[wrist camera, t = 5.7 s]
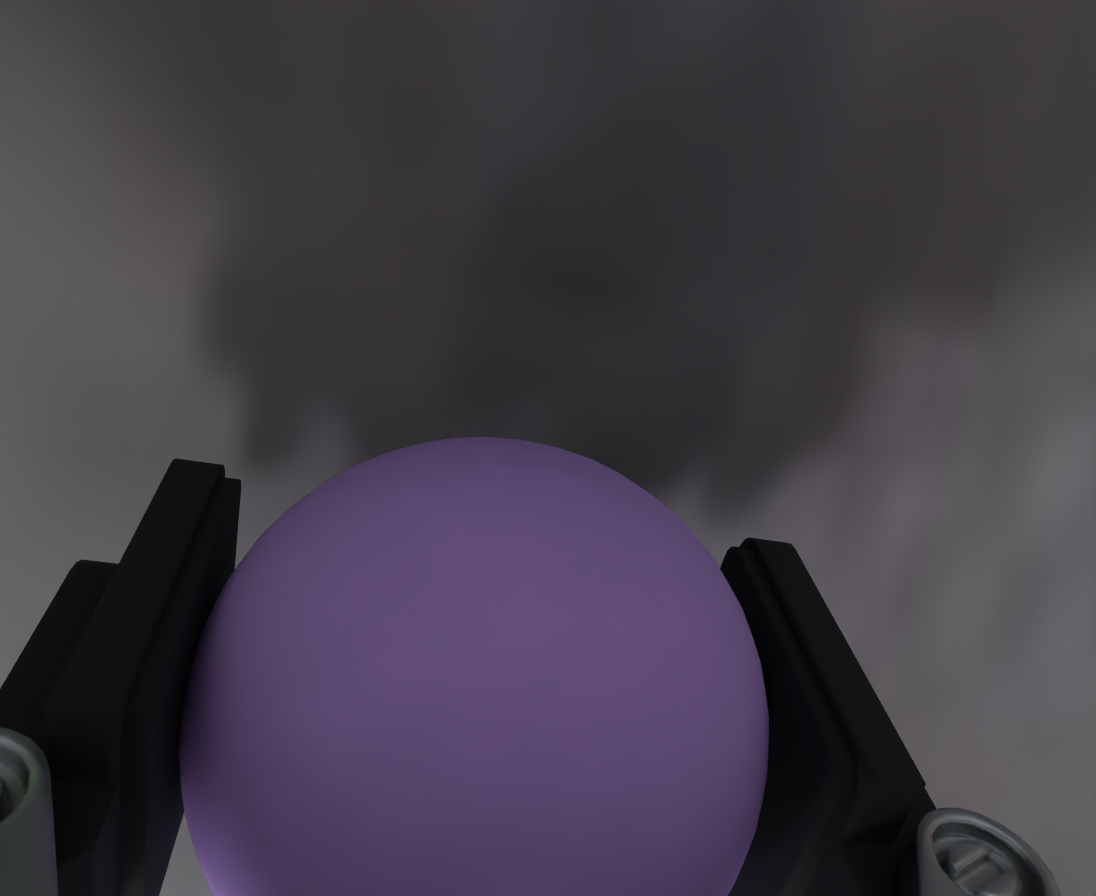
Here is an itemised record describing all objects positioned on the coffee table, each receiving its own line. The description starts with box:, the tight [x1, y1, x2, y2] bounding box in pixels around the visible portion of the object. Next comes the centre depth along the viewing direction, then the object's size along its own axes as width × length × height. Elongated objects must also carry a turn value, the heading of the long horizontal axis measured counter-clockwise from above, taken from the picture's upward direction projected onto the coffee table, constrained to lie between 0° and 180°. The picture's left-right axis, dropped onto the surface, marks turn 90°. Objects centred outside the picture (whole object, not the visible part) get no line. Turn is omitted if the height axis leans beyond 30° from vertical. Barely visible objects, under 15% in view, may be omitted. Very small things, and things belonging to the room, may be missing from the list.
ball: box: [179, 437, 769, 896], centre depth 10 cm, size 6×6×6 cm
